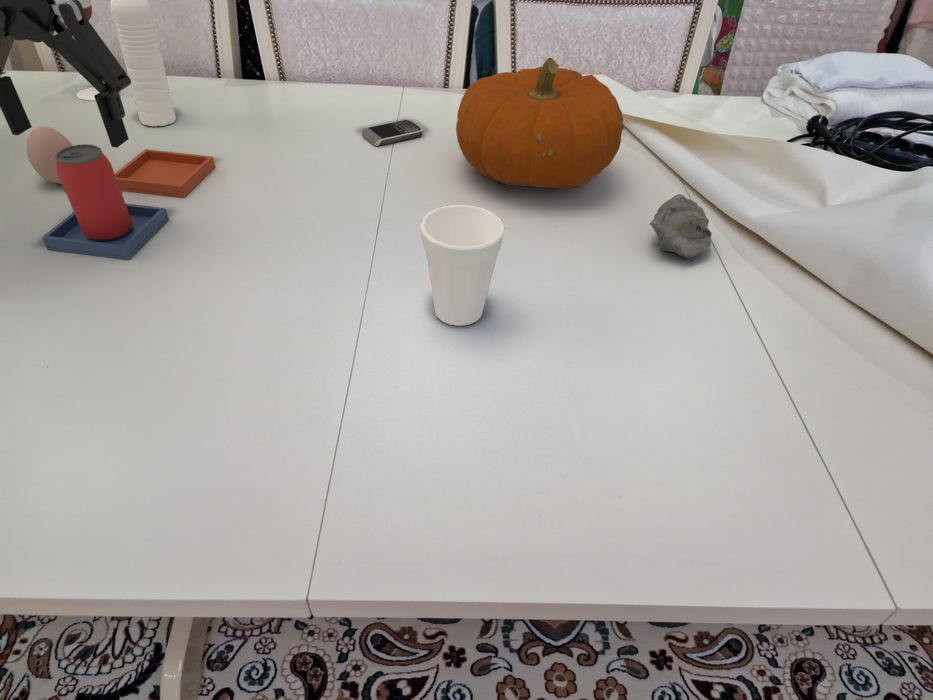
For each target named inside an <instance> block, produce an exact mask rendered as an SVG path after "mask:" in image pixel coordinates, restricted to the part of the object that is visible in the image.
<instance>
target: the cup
mask: <svg viewBox="0 0 933 700" xmlns="http://www.w3.org/2000/svg"><path fill="white" fill-rule="evenodd" d="M419 231H420V238H421V243H422V245H423V248H424V250H425V255H426V262H427V269H428V274H429V275H428V276H429V280H430V281H429V282H430V287H431V295H432V301H433V306H434V313H435V316H436V317H437V318H438V320H440V321H441V322H442V323H445V324H447V325H450V326H457V327H461V326H469V325H471V324H475V323H476V322H477V321H478V320H480V319H481V318H482V315H483V312H484V308H485V303H486V300H487V296H488V293H489V289H490V285H491V282H492V278H493V273H494V270H495V267H496V262H497V258H498V255H499V252H500V251H501V248H502V244H503V239H504V235H505V231H506V226H505V225H504V223H503V221H502V219H501V218H500V217H499V216H498V215H496V214H495V213H494V212H492V211H491V210H488V209H485V208H482V207H480V206H475V205H469V204H468V205H467V204H452V205H445V206H441V207H438V208H434V209H433V210H431V211H430V212H429V213H427V214H425V215H424V216H423V217H422V219H421V221H420V223H419Z"/></svg>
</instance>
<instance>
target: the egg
mask: <svg viewBox="0 0 933 700" xmlns="http://www.w3.org/2000/svg"><path fill="white" fill-rule="evenodd" d="M70 146H73V144H72V142H70V141H69V139H68V138H67V137H66V136H65V135H63V134H62V133H61V132H59V131H58V130H57V129H55V128H52V127H50V126H45V125H43V126H37V127H36V128H34V129H32V130H31V131H30V133H29V135H28V137H27V140H26V154H27V159H28V160H29V163H30V165H31V167H32V168H33V170H34V171H35V172H36V174H38V175H39V176H40V177H42V178H43V179H45V180H47V181H48V182H50V183H54V184H60V185H62V183H61V180H60V178H59V176H58V173H57V160H56V158H55V156H56V154H57V153H58V152H59V151H60V150H62V149H64V148H66V147H70Z"/></svg>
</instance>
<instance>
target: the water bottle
mask: <svg viewBox="0 0 933 700" xmlns="http://www.w3.org/2000/svg"><path fill="white" fill-rule="evenodd" d="M109 7H110V12H111V15H112V20H113V21H114V26H115V30H116V34H117V37H118V41H119V46H120V49H121V53H122V57H123V62H124V64H125V69H126V74H127V75H128V76H129V78H130V79H131V84H130V87H131V92H132V95H133V97H134V104H135V107H136V111H137V115H138V119H139V122H140V123H141V124H142V125H145V126H149V127H164V126H168V125H171V124H174V123H175V122H176V119H177V117H176V112H175V108H174V106H173V99H172V96H171V91H170V90H171V89H170V86H169V81H168V77H167V75H166V74H167V73H166V68H165V65H164V59H163V55H162V51H161V47H160V43H159V38H158V33H157V31H156V30H157V28H156V25H155V23H156V22H155V21H154V14H153V9H152V6H151V4H150V2H149V1H148V0H110V2H109Z"/></svg>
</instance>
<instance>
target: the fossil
mask: <svg viewBox="0 0 933 700" xmlns="http://www.w3.org/2000/svg"><path fill="white" fill-rule="evenodd" d="M709 222H710V220H709V218H708V217H707V215H706V213H705V210H704V209H703V208H702V206H700V205H698V203H697V202H696V201H694V200H692V199H690V198H687V197H686V196H685V195H683V194H681V193H678V194H676V195H674V196H672V197H671V198H670V199H667V200H666V201H665V202H663V203H662V204H661V205H660V206H659V207H658V209H657V212H656V213H655V214H654V216H653V219H652V220H651V221H650V222H649V225H650V226H651V227H652V229H653V230H654V233H655V234H656V236H657V237H658V247H659V250H661V251H664V252H668V253H676V254H677V255H679V256H681V257H683V258H685V259H690V258H694V257H696V256H698V255H701V254H703V253H705V252H706V251H707V250H708V249H709V248H710V246H711V243H712V233H713V232H712V231H711V230H710V228H708V226H709Z"/></svg>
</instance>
